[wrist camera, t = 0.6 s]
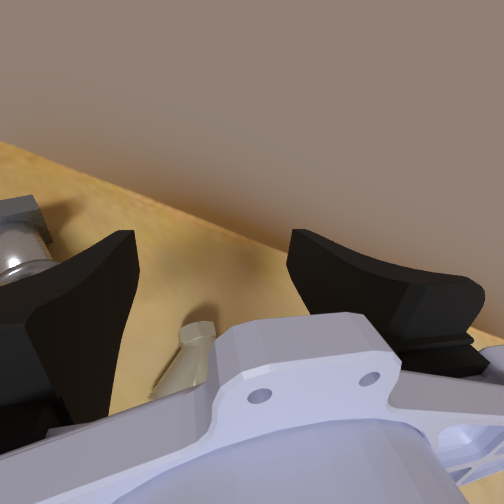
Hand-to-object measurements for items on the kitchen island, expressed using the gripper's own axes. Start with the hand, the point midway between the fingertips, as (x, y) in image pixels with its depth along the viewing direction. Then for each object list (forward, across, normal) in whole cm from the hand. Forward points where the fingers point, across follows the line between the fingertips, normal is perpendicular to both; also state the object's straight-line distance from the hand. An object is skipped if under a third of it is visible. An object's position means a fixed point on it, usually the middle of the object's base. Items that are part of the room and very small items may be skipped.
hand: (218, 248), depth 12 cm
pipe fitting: (+6, +2, +18) cm, 19 cm away
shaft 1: (+16, +17, +10) cm, 25 cm away
